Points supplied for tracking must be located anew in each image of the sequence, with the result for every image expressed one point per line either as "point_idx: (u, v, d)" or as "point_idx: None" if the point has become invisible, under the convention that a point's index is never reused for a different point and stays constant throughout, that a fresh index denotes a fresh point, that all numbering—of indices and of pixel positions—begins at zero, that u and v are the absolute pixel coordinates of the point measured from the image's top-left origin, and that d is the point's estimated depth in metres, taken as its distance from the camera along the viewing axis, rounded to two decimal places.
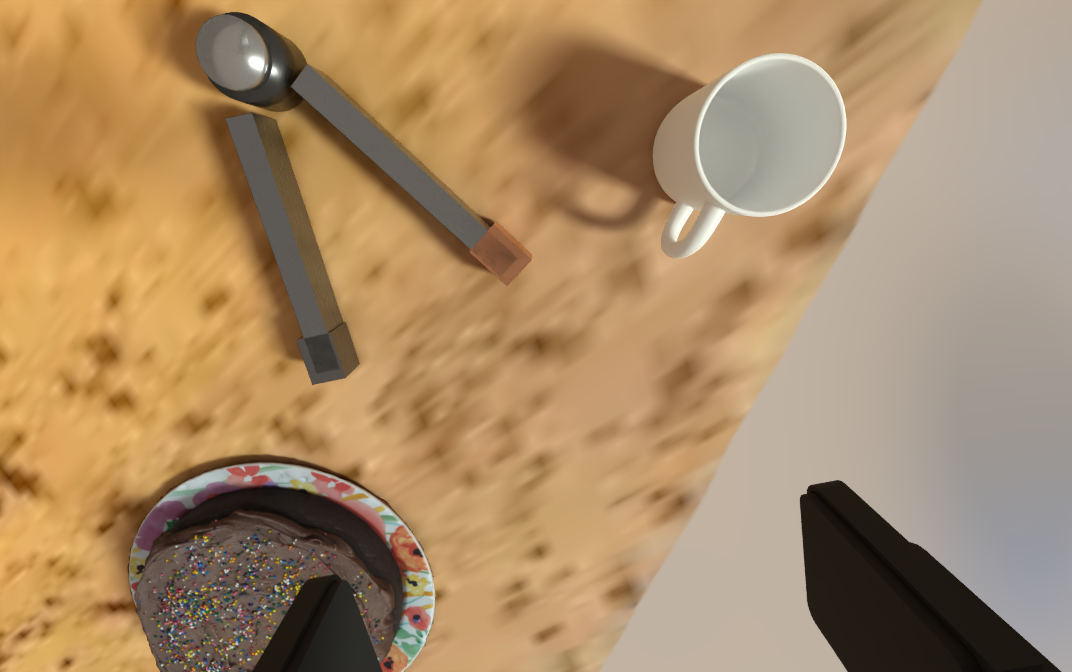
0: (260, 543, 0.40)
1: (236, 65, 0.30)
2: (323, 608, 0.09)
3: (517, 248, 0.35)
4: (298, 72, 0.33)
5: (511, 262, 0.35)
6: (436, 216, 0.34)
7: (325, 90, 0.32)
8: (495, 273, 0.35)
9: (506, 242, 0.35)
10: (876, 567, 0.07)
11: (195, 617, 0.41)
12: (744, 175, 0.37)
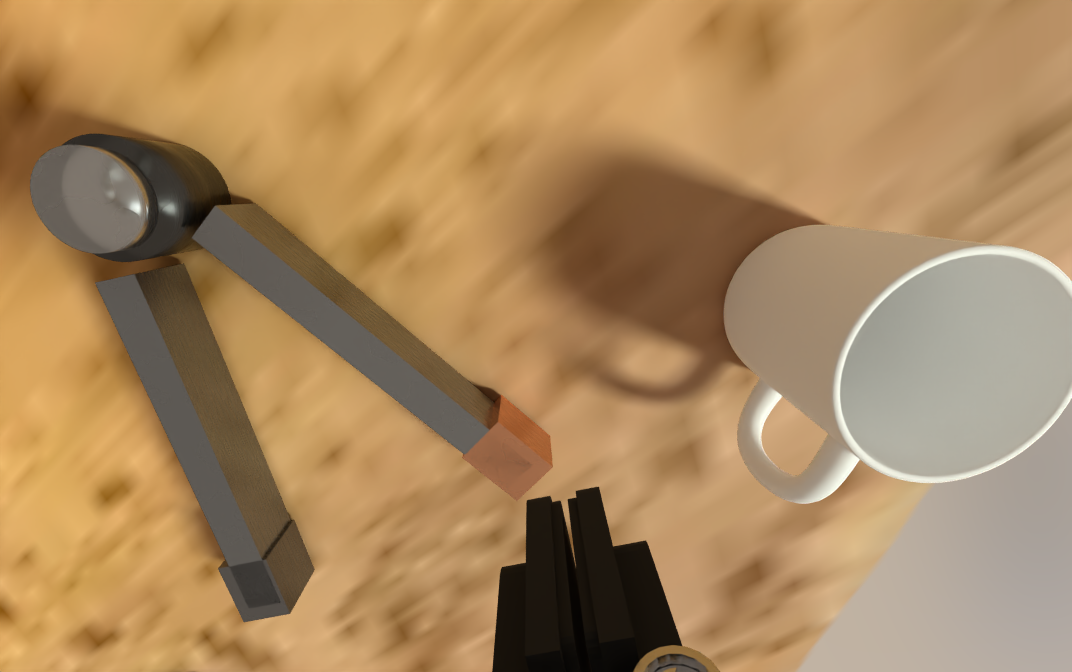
0: None
1: (96, 219, 0.19)
2: (557, 520, 0.10)
3: (532, 453, 0.24)
4: (209, 206, 0.22)
5: (523, 470, 0.24)
6: (414, 412, 0.23)
7: (244, 243, 0.21)
8: (500, 485, 0.24)
9: (515, 444, 0.24)
10: (580, 561, 0.09)
11: None
12: None
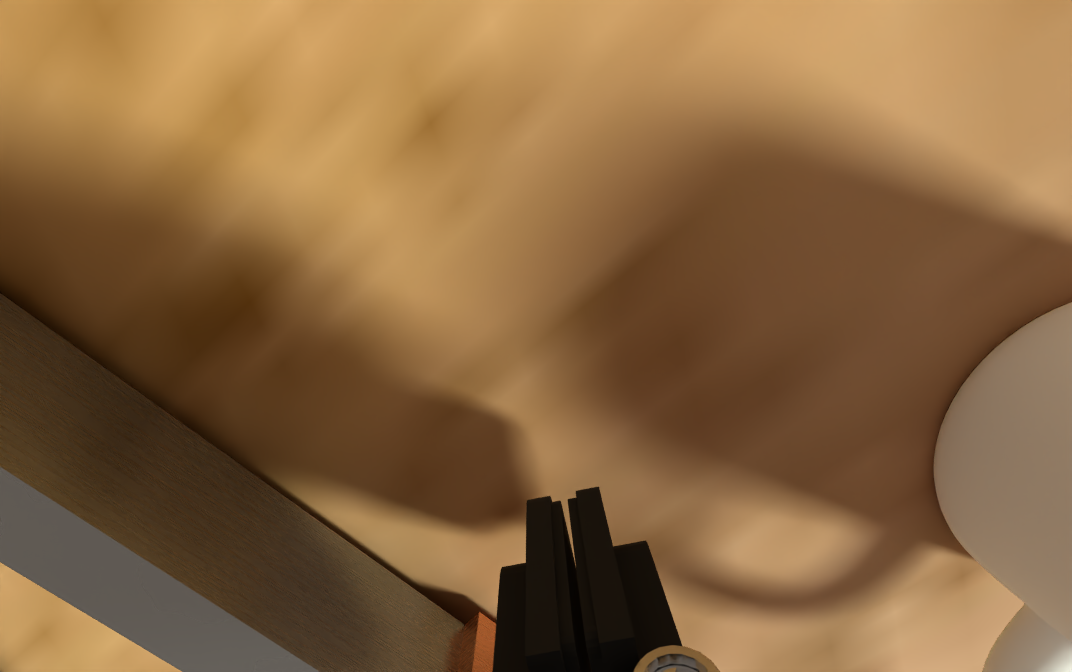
0: None
1: None
2: (556, 520, 0.10)
3: None
4: None
5: None
6: None
7: None
8: None
9: None
10: (580, 561, 0.09)
11: None
12: None
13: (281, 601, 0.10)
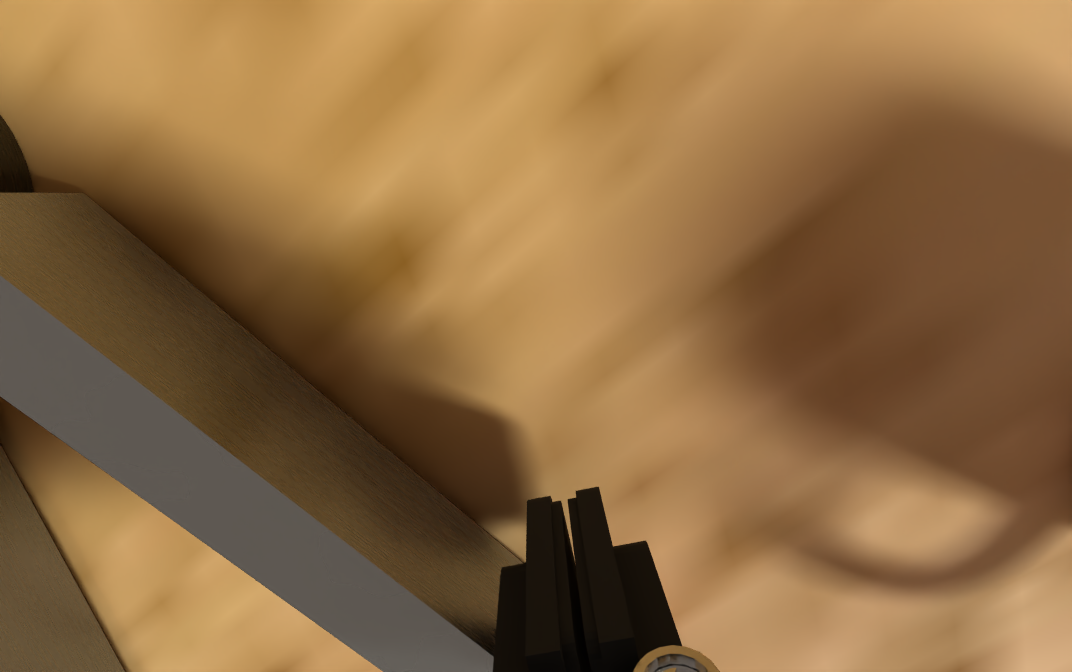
0: None
1: None
2: (557, 520, 0.10)
3: None
4: None
5: None
6: None
7: None
8: None
9: None
10: (580, 561, 0.09)
11: None
12: None
13: (440, 578, 0.10)
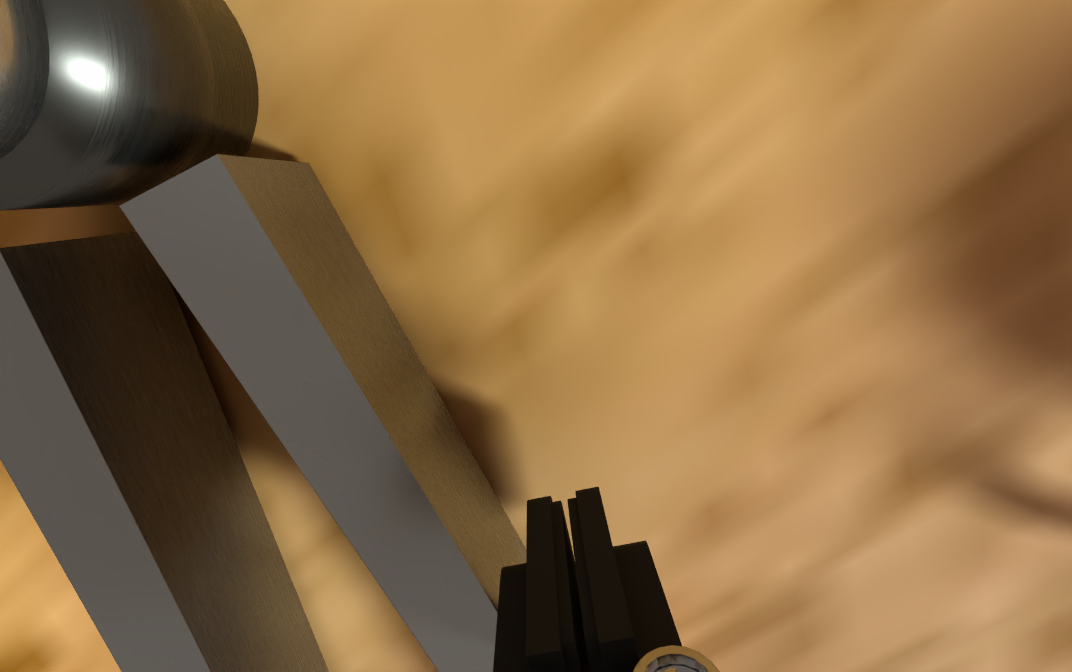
0: None
1: None
2: (557, 520, 0.10)
3: None
4: (207, 82, 0.09)
5: None
6: None
7: (256, 273, 0.08)
8: None
9: None
10: (579, 561, 0.09)
11: None
12: None
13: None
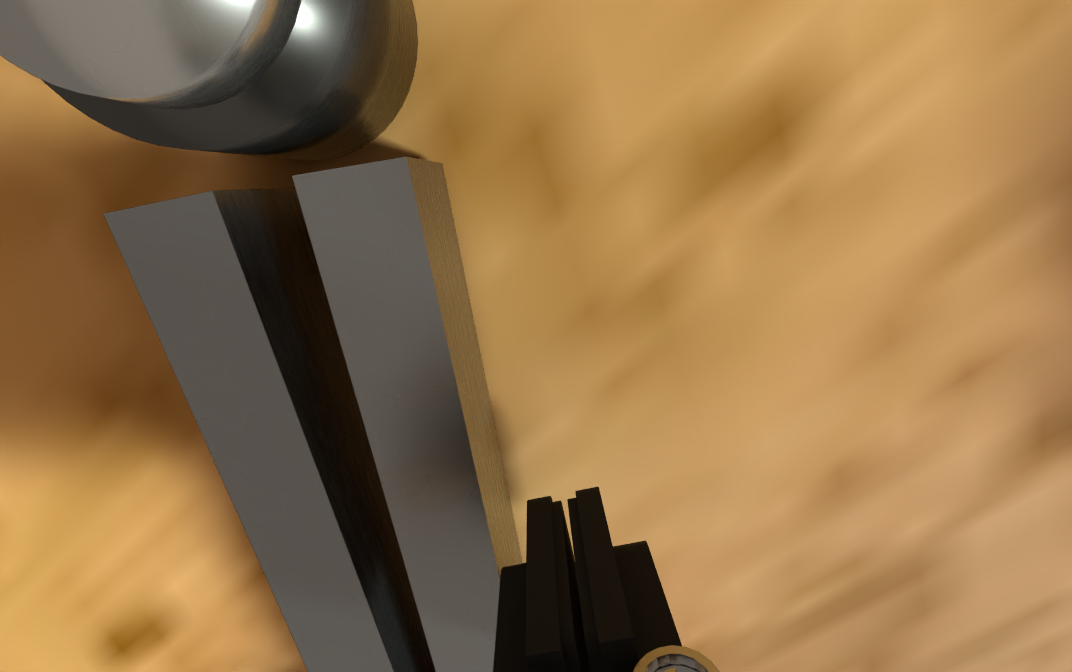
0: None
1: None
2: (557, 520, 0.10)
3: None
4: (395, 27, 0.09)
5: None
6: None
7: (401, 274, 0.08)
8: None
9: None
10: (579, 561, 0.09)
11: None
12: None
13: None
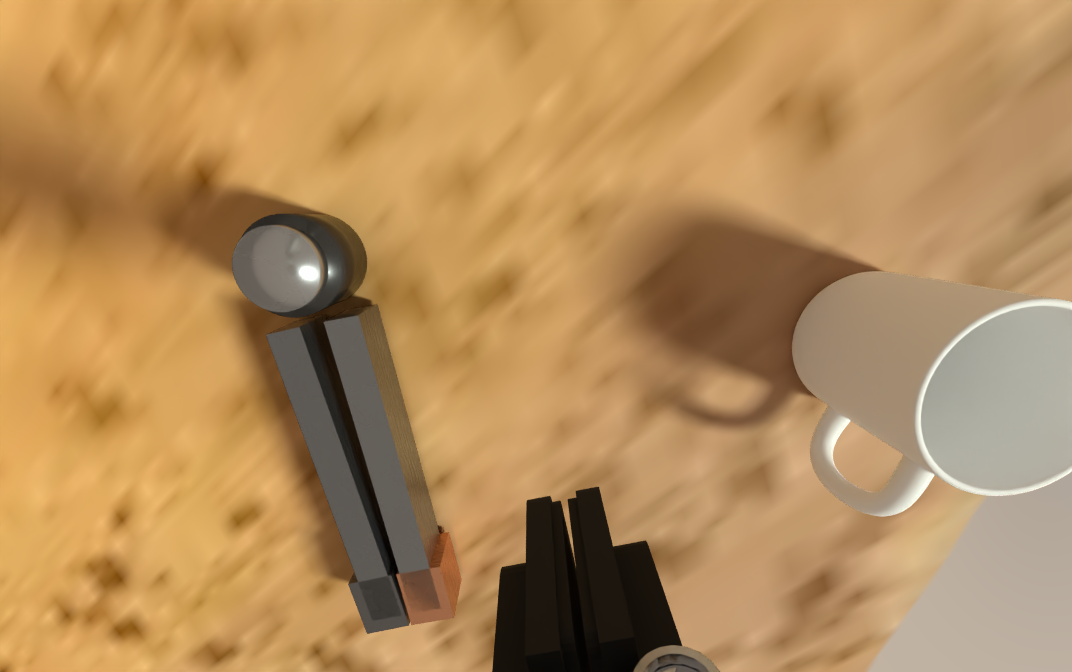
0: None
1: (273, 285, 0.23)
2: (556, 520, 0.10)
3: (447, 600, 0.29)
4: (356, 267, 0.26)
5: (431, 608, 0.29)
6: (386, 525, 0.28)
7: (358, 350, 0.25)
8: (408, 608, 0.29)
9: (440, 588, 0.29)
10: (580, 561, 0.09)
11: None
12: None
13: (413, 490, 0.28)
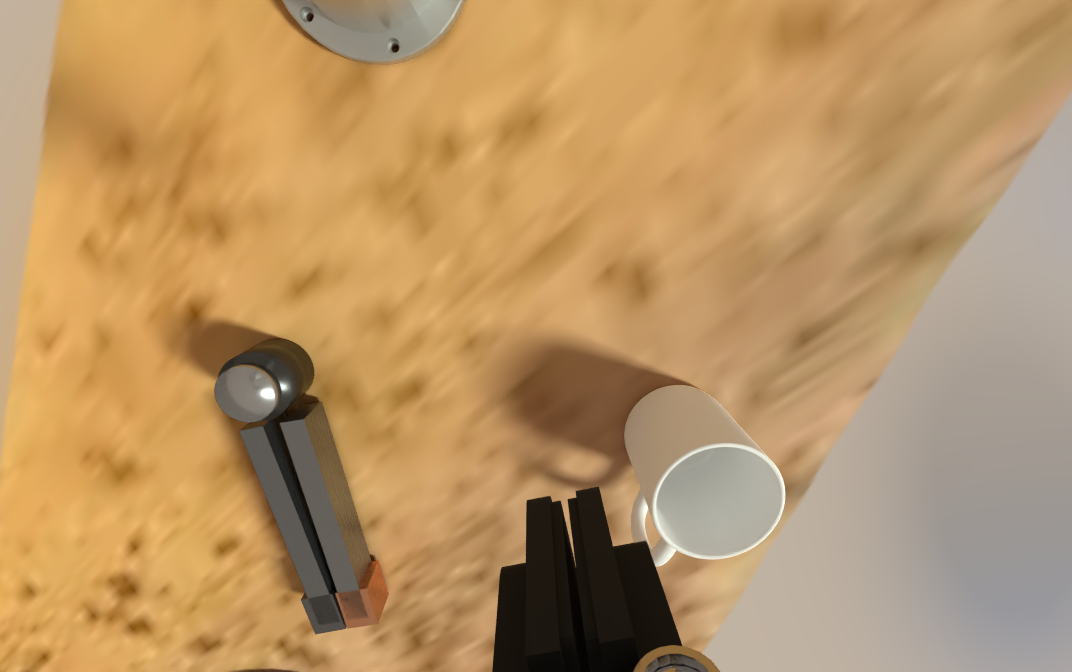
0: None
1: (243, 405, 0.34)
2: (556, 520, 0.10)
3: (372, 611, 0.40)
4: (304, 381, 0.37)
5: (361, 616, 0.41)
6: (327, 559, 0.39)
7: (304, 441, 0.36)
8: (344, 616, 0.40)
9: (367, 603, 0.40)
10: (580, 561, 0.09)
11: None
12: None
13: (347, 535, 0.39)
